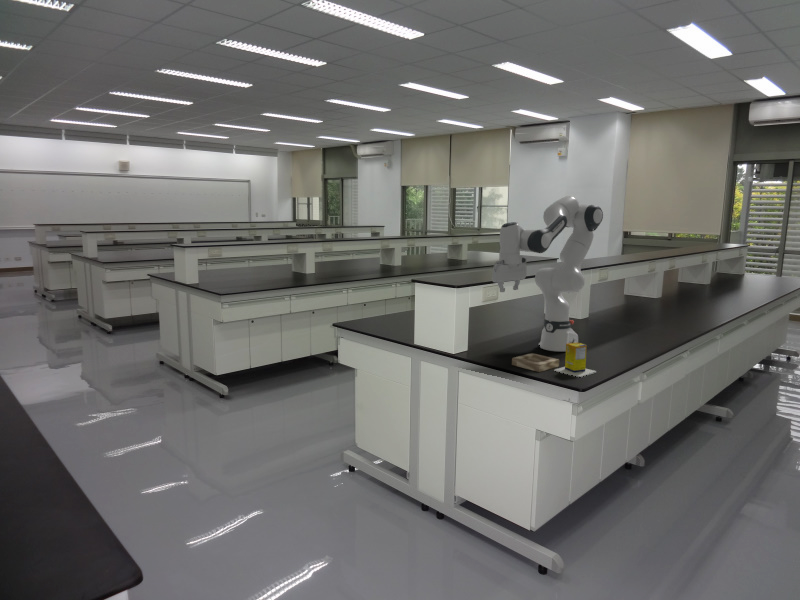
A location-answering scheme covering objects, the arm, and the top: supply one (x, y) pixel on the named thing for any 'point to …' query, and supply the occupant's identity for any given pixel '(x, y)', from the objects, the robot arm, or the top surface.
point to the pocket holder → (535, 362)
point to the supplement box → (575, 357)
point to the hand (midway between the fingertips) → (509, 290)
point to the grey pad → (577, 374)
